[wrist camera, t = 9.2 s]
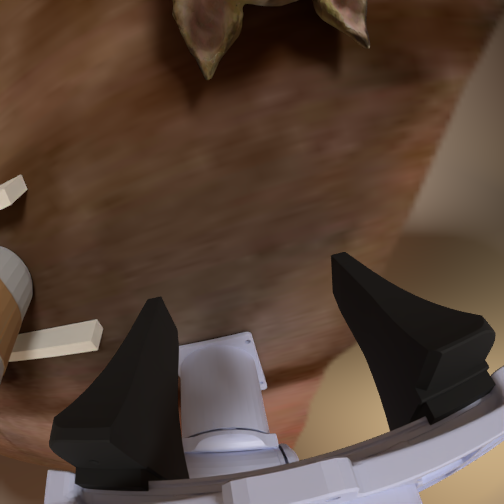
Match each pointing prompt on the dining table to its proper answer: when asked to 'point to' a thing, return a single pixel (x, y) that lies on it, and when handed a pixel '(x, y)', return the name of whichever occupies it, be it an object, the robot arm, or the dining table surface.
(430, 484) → the robot arm
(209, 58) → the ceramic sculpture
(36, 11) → the dining table surface
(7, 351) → the coffee cup
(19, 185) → the dock
